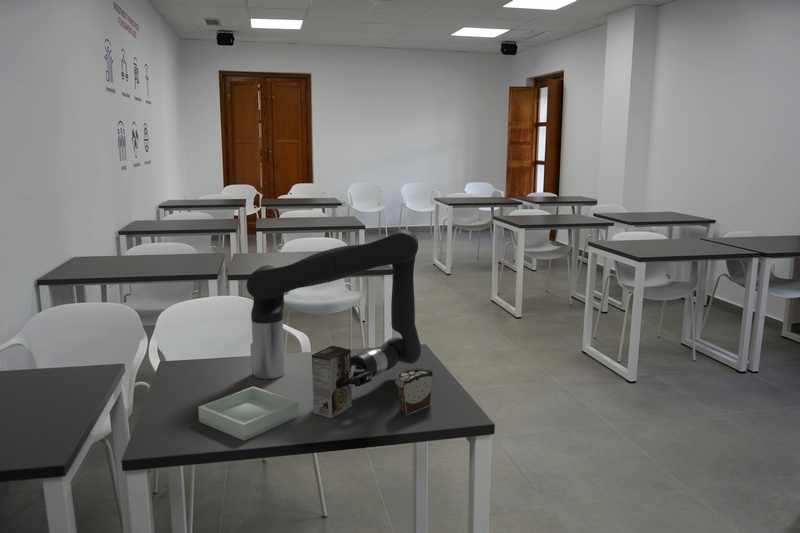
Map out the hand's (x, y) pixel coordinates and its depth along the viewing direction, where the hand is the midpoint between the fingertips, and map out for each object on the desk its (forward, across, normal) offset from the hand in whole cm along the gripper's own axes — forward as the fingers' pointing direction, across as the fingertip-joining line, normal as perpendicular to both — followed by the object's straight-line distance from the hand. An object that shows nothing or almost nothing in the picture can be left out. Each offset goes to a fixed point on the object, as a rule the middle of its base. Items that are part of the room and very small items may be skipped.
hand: (326, 381), depth 166 cm
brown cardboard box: (-2, 0, +9) cm, 9 cm away
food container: (-16, +15, +9) cm, 24 cm away
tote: (+15, -13, +9) cm, 22 cm away
